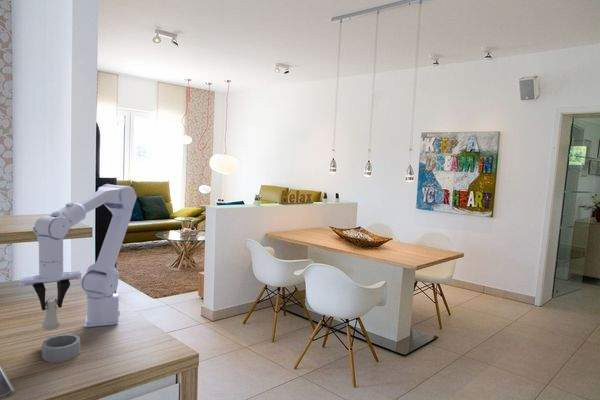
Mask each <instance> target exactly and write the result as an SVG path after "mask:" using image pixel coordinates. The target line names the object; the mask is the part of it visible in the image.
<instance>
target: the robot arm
mask: <svg viewBox="0 0 600 400" xmlns="http://www.w3.org/2000/svg"><path fill="white" fill-rule="evenodd" d="M137 197H138V196H137V193H136V191H135V189H134V187H132V186H130V185H119V184H118V185H117V184H116V185H115V184H110V183H106V184H102V186H99V187H98V188H97V191H95V192H94V193H92V194H90V195H89V196H88V197H86V198H85V199H83V200H82V201H80V202H79V203H78V202H67V203H66V204H65V206H64V207H61V208H60V209H59V210H55V211H53V212H52V214H50V215H43V216H40V217H39V218H38V219H37V220H36V221H35V223H34V226H33V227H32V230H33V233H34V235H36V239H37V240H36V242H38V274H37V275H32V276H27V277H21V278H19V279H18V285H19V287H20V288H25V287H30V286H32V288H33V289H34V291H35V293H36V295H37V297H38V300H39V302H40V309H41V311H46V308H47V306H46V305H45V303H46V290H47V289H46V287H45V284H49V283H56V287H57V297H56V299H57V301H58V304H57V305H56V307H57V308H58V309H60V308H62V307H63V302H64V299H65V296H66V293H67V291H68V290H69V288H70V286H71V282H70V281H72V280H77V281H78V280H80V287H81V289H82V290H83V291H84V295H86V316H85V317H86V318H85V320H84V321H85V322H84V325H83V326H84V328H90V327H91V328H92V327H101V326H111V325H118V324H119V316H120V313H121V312H120V311H121V310H120V309H119V302H120V301H119V300H120V299H119V297H120V295H119V293H118V292H116V291H117V289H118V286H119V277H120V272H119V271H118V269H117V268H116V262H117V259H118V257H119V253H120V252H121V251H120V250H121V248H122V245H123V242H124V240H125V239H124V238H125V237H126V233H127V230H128V228H129V223H130V221H131V219H132V218H131V217H132V214H133V209H134V207H135V204H136V201H137ZM102 205H104V206H105V207H106V208H107V209H108V210H109V211H110V212H111V215H112V216H111V220H110V223H109V226H108V228H107V232H106V234H105V237H104V240H103V242H102V245H101V248H100V250H99V254H98V257H97V259H96V262H95V263H93V264H90V265H89V266H88V267H87V269H86V272H85V273H84V274H83V276H82V272H81V271H80V270H78V271H64V238H65V237H66V236H67V234H68V233H69V230H70V229H71V228H72V227H74V226H76V225H77V224H78V223H80V222H82V221H83V220H85V219H86V216H87V213H89V212H91V211H92V210H94V209H97V208H99V207H101V206H102Z"/></svg>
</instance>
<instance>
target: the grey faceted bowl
mask: <svg viewBox="0 0 600 400" xmlns="http://www.w3.org/2000/svg"><path fill="white" fill-rule="evenodd" d="M80 352H81V336H79V335H77V334H72V333H65V334H57V335H54V336H50V337H48V338H47V339H45V340H43V342H42V344H41V358H42V360H44V361H45V362H50V363H51V362H53V363H55V362H64V361H68V360H70V359H74V358H75V357H77V356H78V355H80V354H81V353H80Z"/></svg>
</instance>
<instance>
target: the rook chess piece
mask: <svg viewBox="0 0 600 400" xmlns="http://www.w3.org/2000/svg"><path fill="white" fill-rule="evenodd" d="M57 304H58V301H57V297H55V298H54V297H53V298H51V299H50V298H48V299H45V305H46V310H45V311H46V313H45V318H44V320H43V321H42V323H41V324H42V326H41V328H42V330H44V331H54V330H57V329H59V327H60V326H61V319H59V316H58V312H57V309H58V306H57Z"/></svg>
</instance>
